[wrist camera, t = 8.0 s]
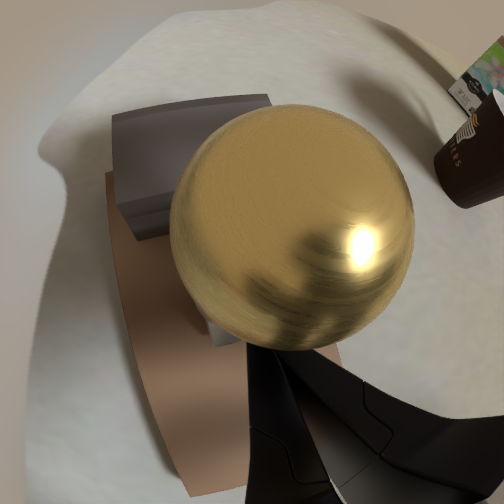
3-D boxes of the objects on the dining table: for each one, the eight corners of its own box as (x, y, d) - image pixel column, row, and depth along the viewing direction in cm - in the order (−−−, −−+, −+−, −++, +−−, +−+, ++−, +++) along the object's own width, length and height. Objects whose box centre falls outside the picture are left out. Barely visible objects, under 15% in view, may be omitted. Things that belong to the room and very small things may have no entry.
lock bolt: (273, 327, 13) (497, 301, 3) (199, 348, 12) (225, 450, 2) (225, 162, 15) (280, -38, 4) (160, 174, 14) (143, -38, 4)
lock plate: (346, 432, 14) (406, 463, 9) (190, 484, 12) (192, 546, 6) (265, 156, 18) (292, 93, 12) (111, 185, 16) (82, 123, 10)
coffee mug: (464, 235, 21) (547, 195, 11) (413, 157, 21) (485, 94, 12) (490, 187, 24) (546, 152, 15) (450, 128, 25) (501, 83, 16)
